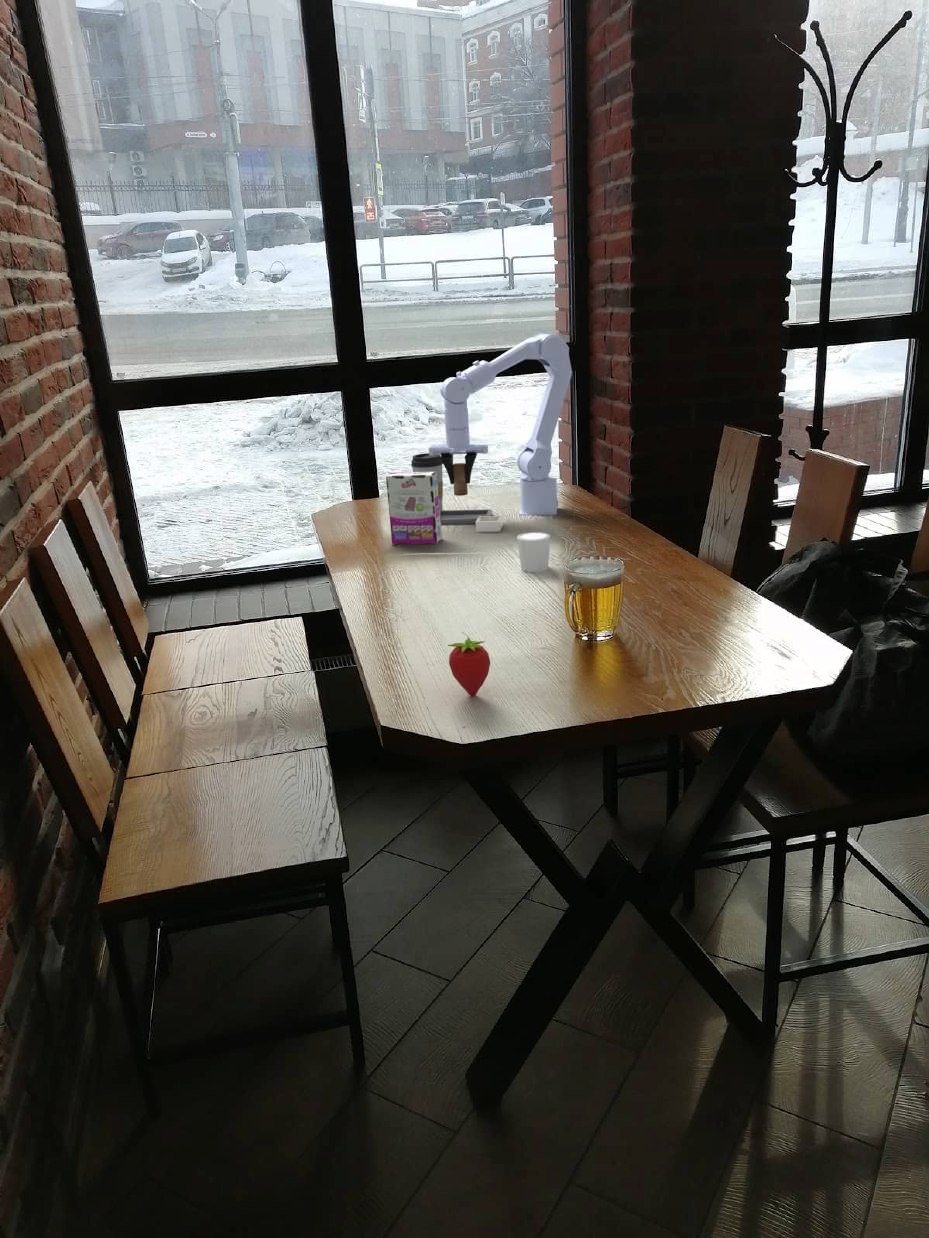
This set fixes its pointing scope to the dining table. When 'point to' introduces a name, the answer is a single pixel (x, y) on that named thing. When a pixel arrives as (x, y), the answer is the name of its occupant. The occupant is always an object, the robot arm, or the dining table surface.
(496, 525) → the white square frame
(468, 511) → the tray
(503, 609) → the dining table surface
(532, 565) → the white tapered cylinder
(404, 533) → the candy bar box
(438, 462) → the coffee cup
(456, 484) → the dowel
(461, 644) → the strawberry
